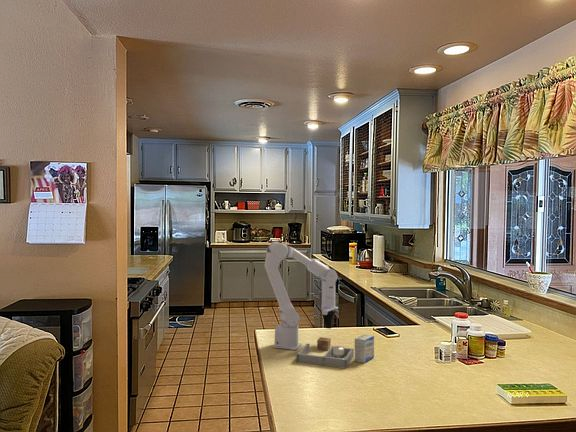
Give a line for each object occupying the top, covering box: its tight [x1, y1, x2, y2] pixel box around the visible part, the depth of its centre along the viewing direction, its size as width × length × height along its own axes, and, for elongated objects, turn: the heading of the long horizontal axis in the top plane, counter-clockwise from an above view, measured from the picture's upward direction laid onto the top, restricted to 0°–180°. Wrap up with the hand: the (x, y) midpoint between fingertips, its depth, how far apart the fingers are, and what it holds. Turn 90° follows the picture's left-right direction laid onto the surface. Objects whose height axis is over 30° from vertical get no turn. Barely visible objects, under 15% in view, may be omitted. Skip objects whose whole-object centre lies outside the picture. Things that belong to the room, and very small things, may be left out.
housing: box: [296, 343, 355, 369], centre depth 174 cm, size 19×14×3 cm
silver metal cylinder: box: [332, 345, 345, 359], centre depth 173 cm, size 4×4×5 cm
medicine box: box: [354, 333, 375, 364], centre depth 175 cm, size 8×4×9 cm, turn 143°
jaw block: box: [316, 337, 332, 352], centre depth 188 cm, size 4×4×4 cm
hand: (328, 328), depth 195 cm, fingers closed
